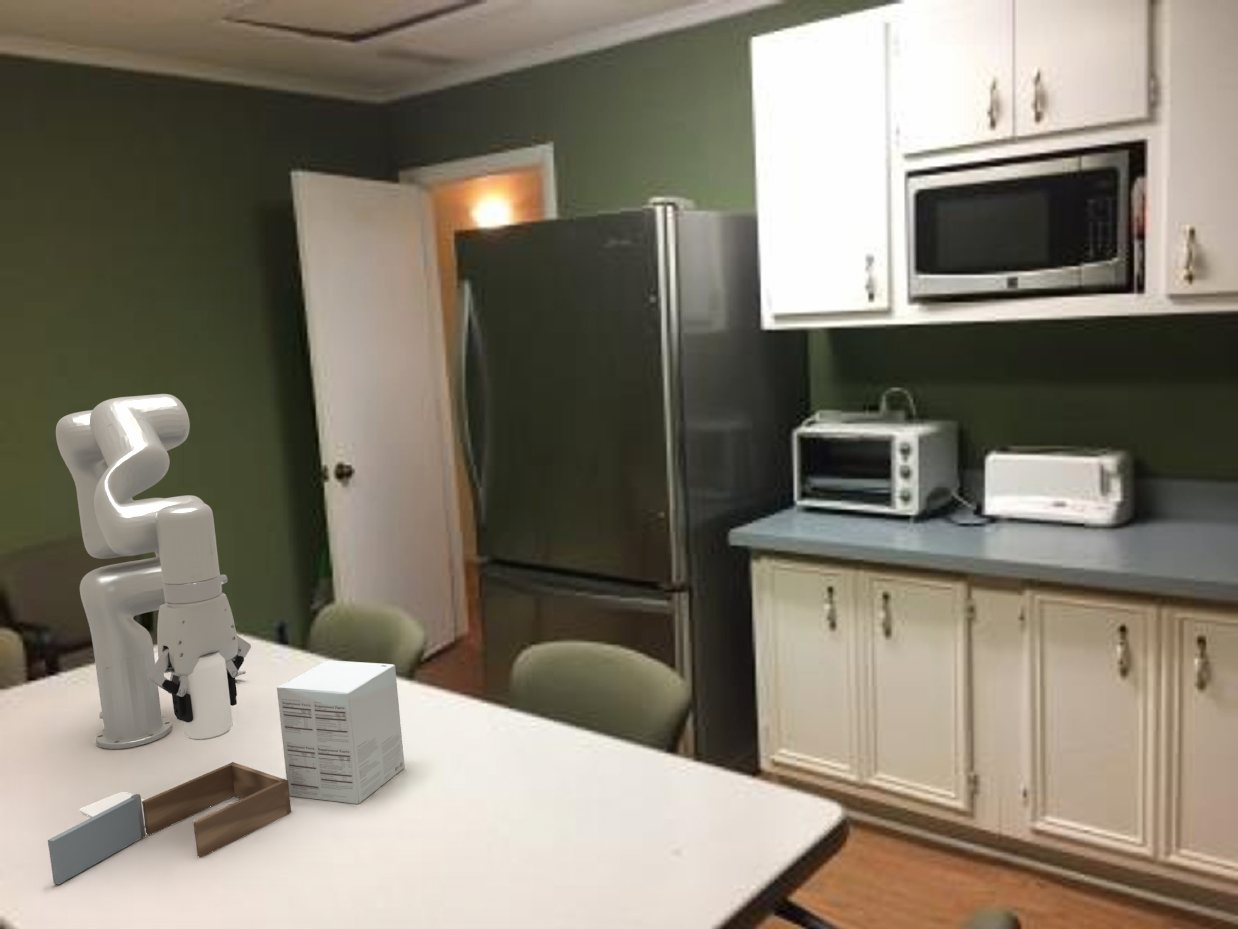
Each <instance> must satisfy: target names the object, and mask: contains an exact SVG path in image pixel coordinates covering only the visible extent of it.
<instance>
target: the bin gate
mask: <svg viewBox="0 0 1238 929" xmlns="http://www.w3.org/2000/svg"><path fill="white" fill-rule="evenodd" d="M141 798H142V797H141V794H140V793H136V794H132V796H131V798H129V799H127V800H125V801H123V802H121V803H119V804H117V805H115V806H113V807H111V808H109V809H107V810H105V811H103V812H101V813H99V814H97V815H95V816H94V817H92V818H91V817H89V818H88V819H86V820H83V821H82V822H80V823H77V824H75V825H74V826H72V827H70V828H68V829H66V830H64V831H62V832H60V833H59V834H57V835H54V836H53V837H50V838H49V839H47V845H48V851H49V859H50V866H51V873H52V881H53V883H54V884H57V885H60V884H62V883H64V882H65V881H67V880H69V879H71V878H73V877H74V876H77V875H78V874H79V873H82V872H83V871H85V870H87V869H88V868H91V867H92V866H94V865H96V864H98V863H99V862H101V861H103V860H105V859H106V858H108V857H110V856H111V855H114V854H115V853H117V852H119V851H121V850H122V849H124V848H126V847H128V846H130V845H132V844H134V843H135V842H137V841H139V840H142V839H144V838H145V837H146V835H147V834H146V829H145V826H144V818H143V811H142V803H141Z"/></svg>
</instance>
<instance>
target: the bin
mask: <svg viewBox="0 0 1238 929" xmlns="http://www.w3.org/2000/svg"><path fill="white" fill-rule="evenodd" d="M233 797H237V798H240V799H239V800H237V801H235V802H233V803H230V804H228V805H226V806H224V807H222V808H220V809H218V810H216V811H213V812H211V813H209V814H206V815H205V816H203V817H201V818H198V819H196V820H193V828H194V829H193V830H194V838H195V846H196V854H197V855H196V856H197V857H198V856H199V857H198V858H203V857H205V856H207V855H209V854H211V853H213V852H216V851H217V850H219V849H221V848H223V847H225V846H227V845H229V844H231V843H233V842H235V841H238V840H239V839H241V838H243V837H245V836H247V835H249V834H251V833H253V832H255V831H258V830H259V829H261V828H263V827H265V826H267V825H269V824H272V823H274V822H275V821H278V820H279V819H282V818H284V817H285V816H287V815H289V814H291V813H292V805H291V796H290V794H289V785H288V780H287V779H286V778H282V777H280V776H276V775H273V774H270V773H266V772H264V771H260V770H257V769H254V768H252V767H249V766H247V765H246V766H245V765H242V764H241V763H236V762H234V761H232V762H230V763H228V764H225V765H222V766H220V767H218V768H215V769H213V770H211V771H209V772H207V773H204V774H202V775H199V776H197V777H194V778H193V779H189V780H188V781H186V782H183V783H181V784H179V785H176V786H174V787H172V788H169V789H167V790H165V791H162V792H160V793H158V794H155V795H153V796H150V797H148V798H146V799H144V800H143V801H142V805H143V813H144V821H145V834H146V833H147V834H146V835H147V836H151V835H153V834H155V833H157V832H160V831H162V830H164V829H166V828H168V827H171V826H173V825H175V824H177V823H179V822H180V821H183V820H186V819H188V818H190V817H192V816H195V815H197V814H198V813H201V812H203V811H205V810H207V809H209V808H211V807H210V806H212V807H213V806H216V805H218V804H219V802H220V803H222V801H223V802H225V801H226V800H229V799H231V798H233ZM172 824H173V825H172ZM161 829H162V830H161ZM159 830H160V831H159ZM152 833H153V834H152ZM150 834H151V835H150ZM212 851H213V852H212Z"/></svg>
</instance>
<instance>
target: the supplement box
mask: <svg viewBox="0 0 1238 929" xmlns="http://www.w3.org/2000/svg"><path fill="white" fill-rule="evenodd" d="M396 673H397V672H396V665H395V664H392V663H391V664H390V663H381V662H380V663H379V662H378V663H377V662H360V661H345V660H331V659H330V660H328V659H327V660H325V661H323V662H321V663H319V664H318V665H316V666H314V667H312V668H310V669H308V670H307V671H304V672H303V673H301V674H299V675H298V676H295V677H294V678H292V679H289V680H288V681H287V682H285V683H283V684H280V685H278V686H277V687H276V692H277V700H278V703H277V704H278V712H279V720H280V729H281V737H282V750H283V756H284V766H285V768H284V769H285V780H288V785H289V794H290V797H299V798H306V799H313V800H315V799H316V800H324V801H330V802H336V803H337V802H338V803H346V804H352V805H353V804H354V805H355V804H356V805H359V804H361V803H362V802H364V800H366V799H367V798H368V797H370V795H372V794H374V792H376V791H377V790H378V789H380V788H381V787H382V786H383V785H384V784H386V783H387V782H388V781H389V780H391V779H393V777H395V776H396V775H397V774H398V773H400V772H401V771H402V770H404V769H405V768H406V767H405V757H404V756H405V755H404V746H403V734H402V727H401V726H402V725H401V714H400V713H401V712H400V705H399V704H400V703H399V693H398V682H397V674H396Z"/></svg>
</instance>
